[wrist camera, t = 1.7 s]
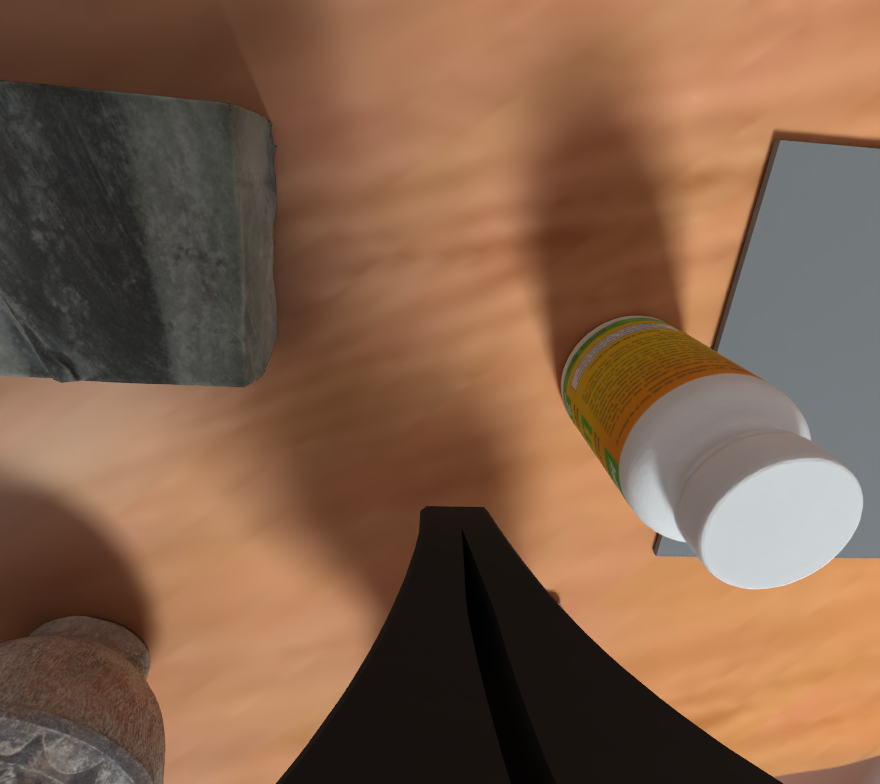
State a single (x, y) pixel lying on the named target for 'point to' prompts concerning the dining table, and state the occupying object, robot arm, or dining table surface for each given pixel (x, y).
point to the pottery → (79, 707)
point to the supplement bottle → (709, 453)
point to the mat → (815, 309)
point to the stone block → (134, 238)
